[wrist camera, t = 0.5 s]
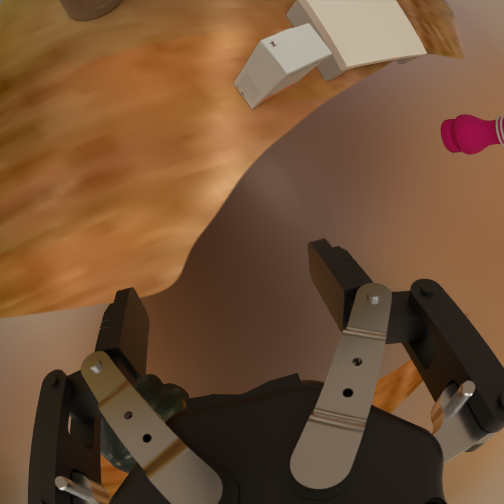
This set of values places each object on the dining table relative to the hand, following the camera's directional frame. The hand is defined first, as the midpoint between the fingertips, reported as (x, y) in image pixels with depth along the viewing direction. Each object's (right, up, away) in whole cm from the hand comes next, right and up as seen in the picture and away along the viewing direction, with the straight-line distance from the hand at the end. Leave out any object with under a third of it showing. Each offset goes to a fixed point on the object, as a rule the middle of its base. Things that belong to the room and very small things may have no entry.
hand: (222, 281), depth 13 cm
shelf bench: (+16, +34, +21) cm, 43 cm away
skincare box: (+2, +22, +20) cm, 30 cm away
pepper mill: (+38, +23, +29) cm, 52 cm away
